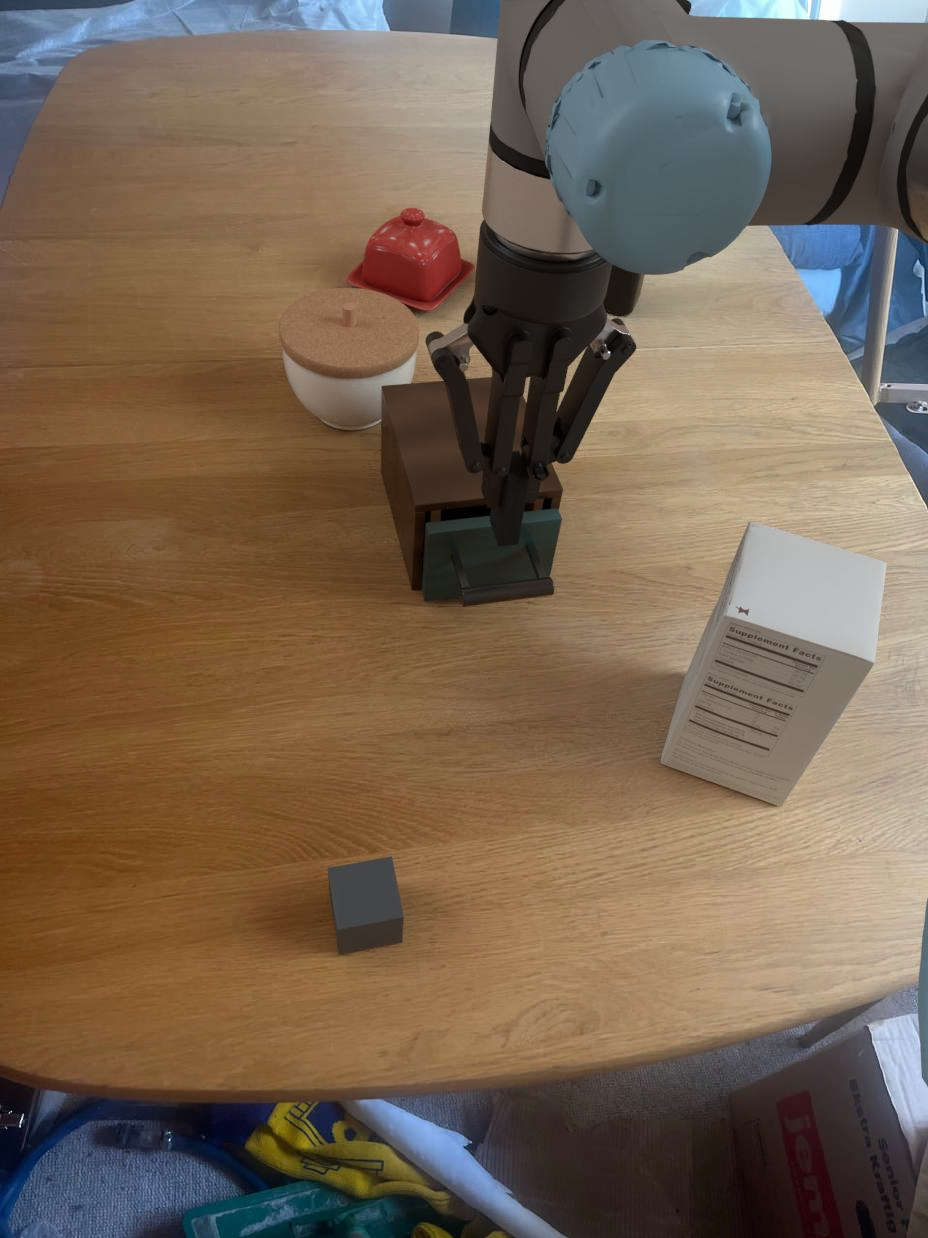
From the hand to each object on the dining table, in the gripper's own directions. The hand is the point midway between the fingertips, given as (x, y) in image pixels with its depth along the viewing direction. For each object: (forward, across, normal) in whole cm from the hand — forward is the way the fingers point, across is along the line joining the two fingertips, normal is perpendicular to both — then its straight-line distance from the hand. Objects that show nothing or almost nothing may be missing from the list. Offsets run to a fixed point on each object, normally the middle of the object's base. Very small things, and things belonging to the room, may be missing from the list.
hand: (503, 531), depth 70 cm
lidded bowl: (+10, +7, -28) cm, 31 cm away
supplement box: (+10, -15, +14) cm, 23 cm away
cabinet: (+10, 0, -11) cm, 15 cm away
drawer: (+9, 0, -6) cm, 11 cm away
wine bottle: (+10, -25, -43) cm, 51 cm away
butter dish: (+10, -3, -49) cm, 50 cm away
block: (+10, +14, +23) cm, 28 cm away
